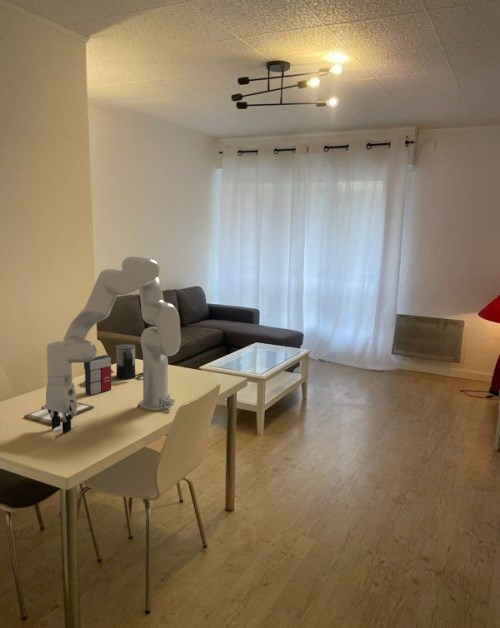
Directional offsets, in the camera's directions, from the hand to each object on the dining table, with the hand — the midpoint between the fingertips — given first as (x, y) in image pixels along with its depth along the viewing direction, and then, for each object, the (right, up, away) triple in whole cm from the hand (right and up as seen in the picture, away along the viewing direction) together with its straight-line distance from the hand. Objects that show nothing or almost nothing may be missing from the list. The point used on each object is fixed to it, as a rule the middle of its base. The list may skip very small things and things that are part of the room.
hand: (61, 429), depth 164 cm
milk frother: (+10, +10, +63) cm, 64 cm away
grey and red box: (0, +6, +40) cm, 40 cm away
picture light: (0, -1, 0) cm, 1 cm away
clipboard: (-7, +3, +15) cm, 17 cm away
